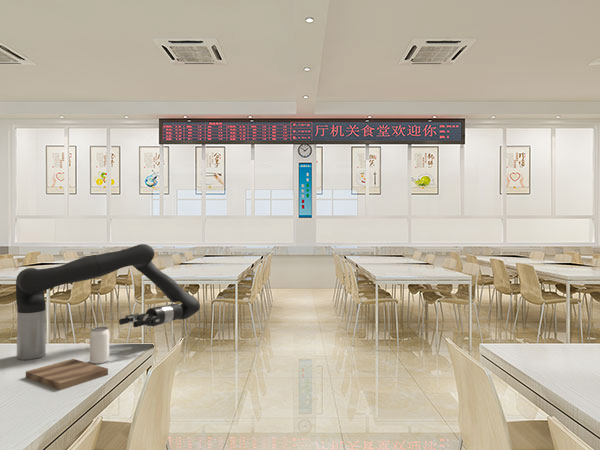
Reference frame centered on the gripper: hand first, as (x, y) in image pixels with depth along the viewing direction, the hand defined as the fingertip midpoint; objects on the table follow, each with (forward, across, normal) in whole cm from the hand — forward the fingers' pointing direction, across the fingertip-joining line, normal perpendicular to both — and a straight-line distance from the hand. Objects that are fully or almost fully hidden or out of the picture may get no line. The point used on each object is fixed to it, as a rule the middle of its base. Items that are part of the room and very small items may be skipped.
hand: (126, 323), depth 168 cm
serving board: (+27, +5, +11) cm, 29 cm away
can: (+12, 0, +12) cm, 17 cm away
